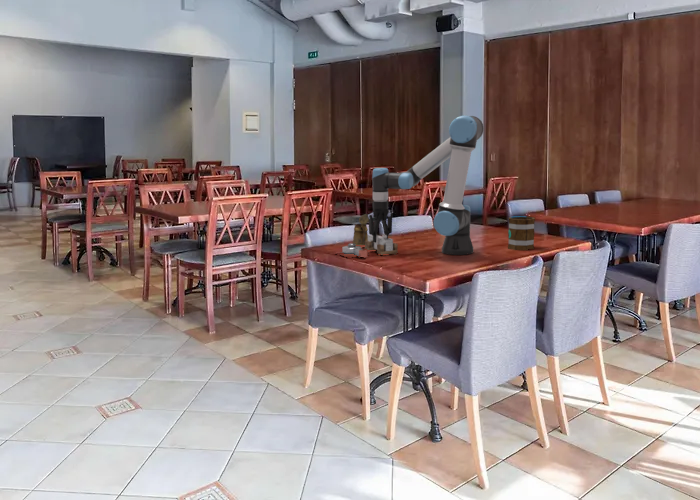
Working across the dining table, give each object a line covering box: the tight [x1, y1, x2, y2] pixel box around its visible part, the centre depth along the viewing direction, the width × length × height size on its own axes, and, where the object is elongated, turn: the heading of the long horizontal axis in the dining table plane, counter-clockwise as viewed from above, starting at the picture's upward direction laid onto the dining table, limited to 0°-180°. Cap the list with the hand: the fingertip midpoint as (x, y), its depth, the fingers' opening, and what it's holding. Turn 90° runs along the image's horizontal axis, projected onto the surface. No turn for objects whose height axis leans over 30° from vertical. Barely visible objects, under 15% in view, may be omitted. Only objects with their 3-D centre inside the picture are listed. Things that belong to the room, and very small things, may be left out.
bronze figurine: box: [352, 213, 369, 245], centre depth 331 cm, size 9×14×18 cm, turn 17°
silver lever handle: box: [341, 242, 368, 258], centre depth 307 cm, size 17×9×5 cm, turn 28°
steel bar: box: [368, 234, 394, 251], centre depth 316 cm, size 17×4×6 cm, turn 29°
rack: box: [364, 241, 399, 255], centre depth 316 cm, size 16×9×5 cm, turn 28°
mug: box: [507, 215, 536, 251], centre depth 323 cm, size 20×14×15 cm
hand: (380, 248), depth 316 cm, fingers open, 4 cm apart
